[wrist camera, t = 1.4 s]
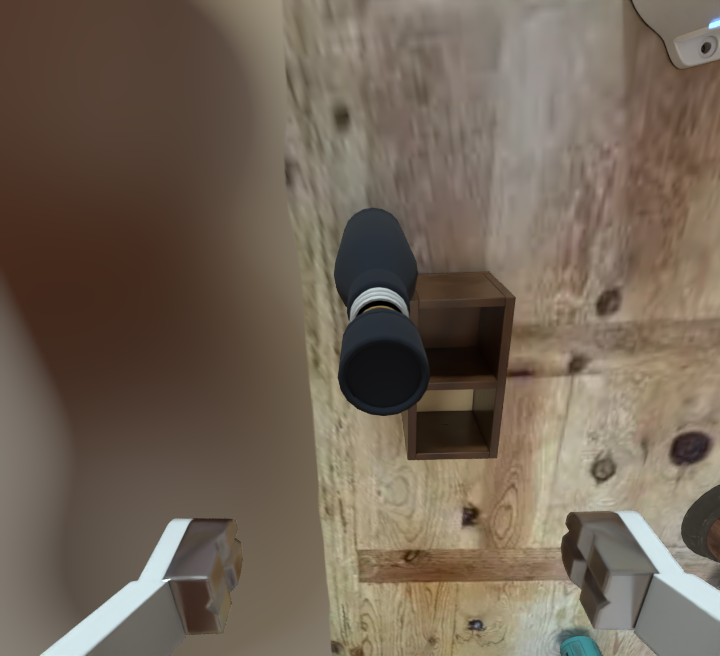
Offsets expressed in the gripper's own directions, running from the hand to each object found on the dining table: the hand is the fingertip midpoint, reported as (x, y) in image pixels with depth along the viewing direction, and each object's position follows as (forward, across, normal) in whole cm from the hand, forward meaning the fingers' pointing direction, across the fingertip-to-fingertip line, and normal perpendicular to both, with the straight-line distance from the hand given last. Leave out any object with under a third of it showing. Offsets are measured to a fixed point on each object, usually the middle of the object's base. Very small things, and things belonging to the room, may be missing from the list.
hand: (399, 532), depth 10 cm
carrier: (+38, -8, +13) cm, 41 cm away
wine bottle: (+38, 0, 0) cm, 38 cm away
